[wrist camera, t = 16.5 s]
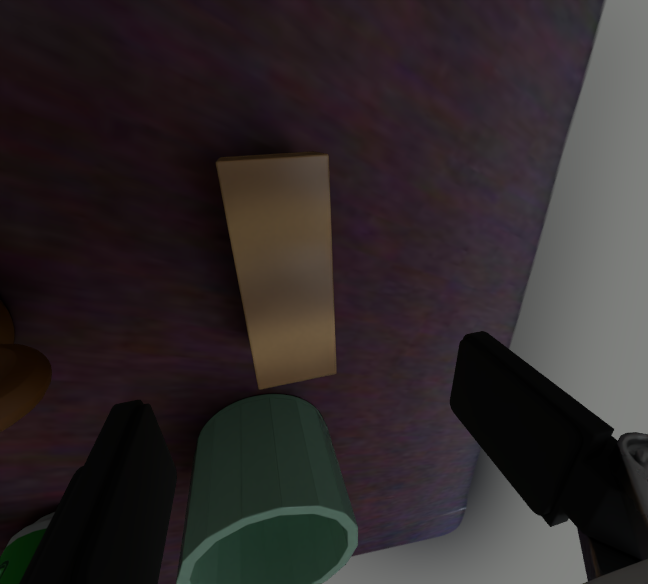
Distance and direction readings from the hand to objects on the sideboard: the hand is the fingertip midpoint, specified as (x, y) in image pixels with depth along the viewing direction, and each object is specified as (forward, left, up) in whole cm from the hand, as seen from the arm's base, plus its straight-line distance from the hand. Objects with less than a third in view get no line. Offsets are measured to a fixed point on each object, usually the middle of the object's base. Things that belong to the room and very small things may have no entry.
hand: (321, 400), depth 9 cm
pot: (+16, -3, -12) cm, 20 cm away
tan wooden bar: (0, 0, -12) cm, 12 cm away
